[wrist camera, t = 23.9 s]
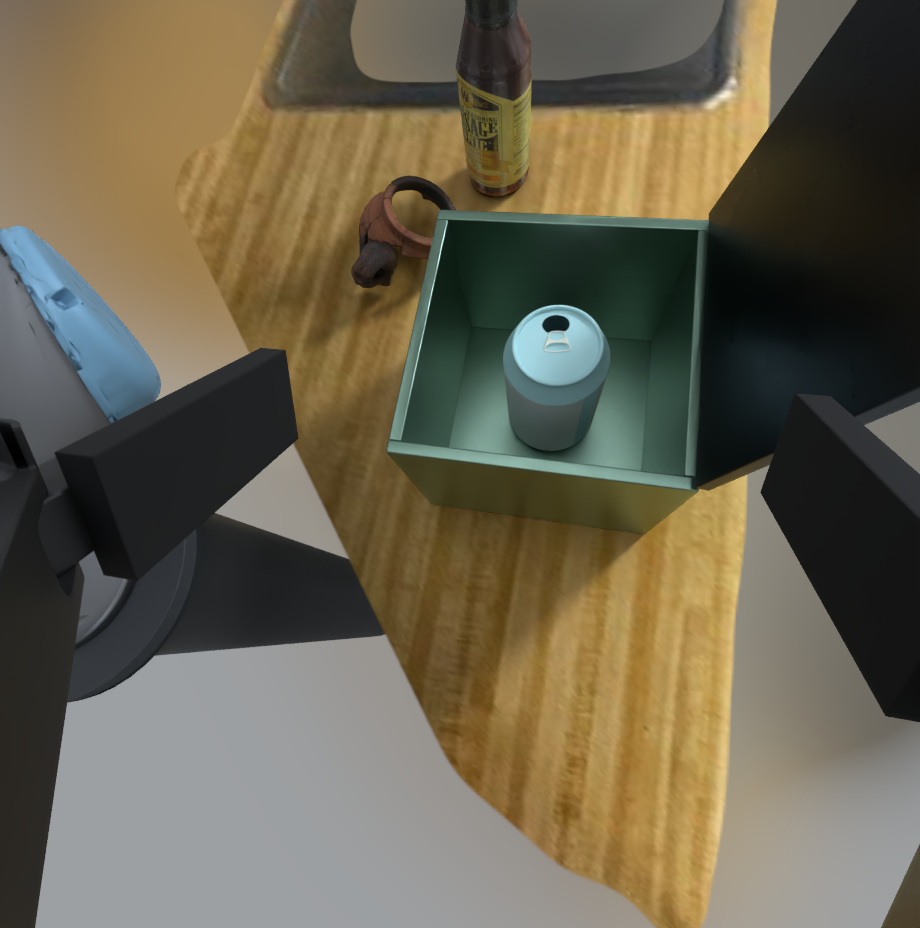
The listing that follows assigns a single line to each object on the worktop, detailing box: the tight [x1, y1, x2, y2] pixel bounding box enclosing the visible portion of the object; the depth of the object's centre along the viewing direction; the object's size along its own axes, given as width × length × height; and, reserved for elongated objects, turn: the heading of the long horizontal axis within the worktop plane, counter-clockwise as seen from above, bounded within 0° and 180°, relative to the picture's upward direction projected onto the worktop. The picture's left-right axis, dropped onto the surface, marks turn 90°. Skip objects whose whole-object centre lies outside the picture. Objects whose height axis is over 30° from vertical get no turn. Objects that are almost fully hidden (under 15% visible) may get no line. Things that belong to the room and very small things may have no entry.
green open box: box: [386, 210, 709, 534], centre depth 38 cm, size 18×18×14 cm
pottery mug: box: [351, 176, 456, 288], centre depth 49 cm, size 12×10×8 cm
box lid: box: [695, 0, 920, 490], centre depth 21 cm, size 18×18×1 cm
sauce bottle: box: [456, 0, 531, 197], centre depth 44 cm, size 7×6×20 cm
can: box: [503, 305, 610, 451], centre depth 39 cm, size 7×7×12 cm
